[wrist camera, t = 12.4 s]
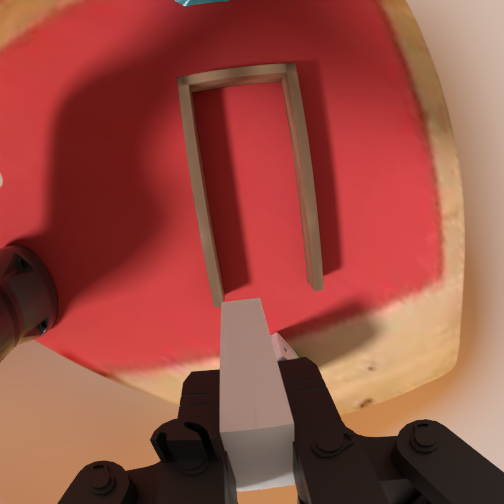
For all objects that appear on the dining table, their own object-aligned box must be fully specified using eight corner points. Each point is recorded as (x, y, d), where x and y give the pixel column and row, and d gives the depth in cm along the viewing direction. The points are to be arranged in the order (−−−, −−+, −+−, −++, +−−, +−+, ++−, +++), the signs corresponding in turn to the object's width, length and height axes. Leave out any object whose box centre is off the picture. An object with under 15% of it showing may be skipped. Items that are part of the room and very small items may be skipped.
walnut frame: (215, 296, 39) (214, 307, 36) (181, 85, 32) (176, 77, 29) (316, 279, 39) (323, 289, 36) (289, 72, 32) (295, 63, 29)
